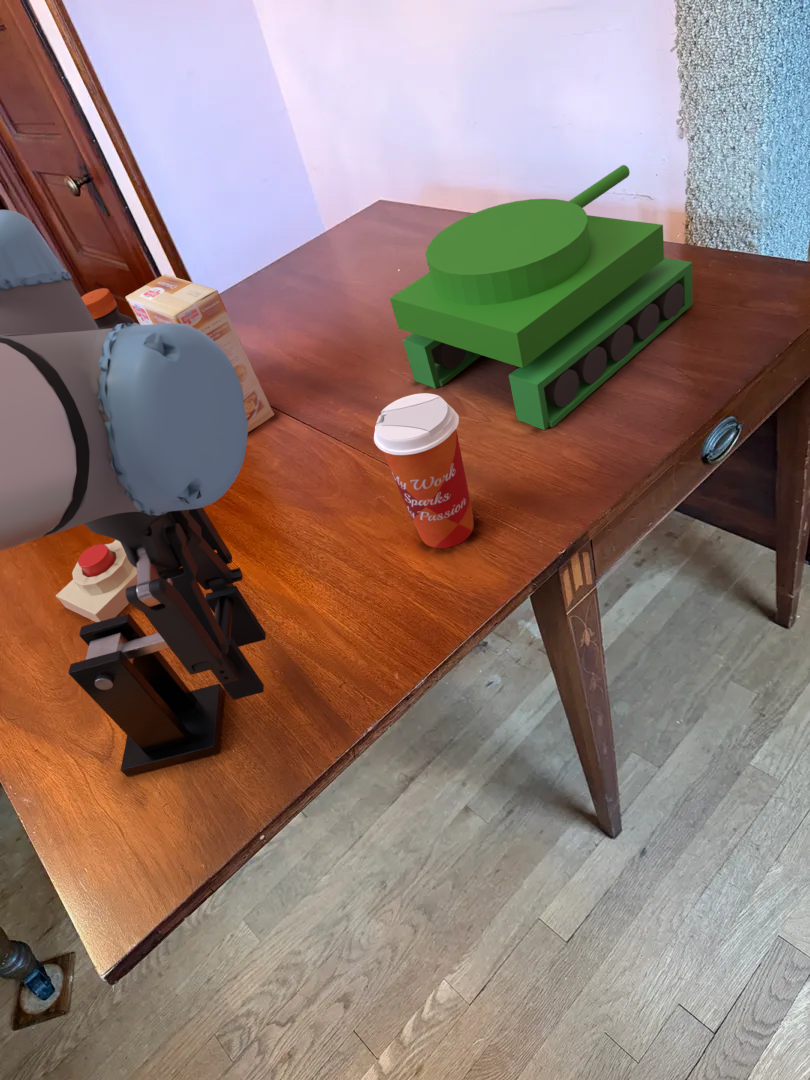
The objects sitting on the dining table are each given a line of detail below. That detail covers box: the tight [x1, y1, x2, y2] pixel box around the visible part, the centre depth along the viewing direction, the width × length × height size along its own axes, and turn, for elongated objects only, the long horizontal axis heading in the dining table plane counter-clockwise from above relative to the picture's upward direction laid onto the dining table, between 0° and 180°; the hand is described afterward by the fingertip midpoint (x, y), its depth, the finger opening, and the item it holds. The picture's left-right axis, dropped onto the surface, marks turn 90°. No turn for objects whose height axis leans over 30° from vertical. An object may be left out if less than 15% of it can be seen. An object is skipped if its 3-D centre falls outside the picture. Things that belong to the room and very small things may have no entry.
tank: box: [389, 164, 694, 431], centre depth 96 cm, size 24×35×16 cm
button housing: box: [55, 539, 137, 623], centre depth 87 cm, size 10×8×4 cm
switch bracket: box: [67, 613, 226, 778], centre depth 65 cm, size 9×7×14 cm
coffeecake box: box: [125, 274, 275, 433], centre depth 104 cm, size 15×7×20 cm, turn 42°
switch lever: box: [84, 596, 233, 664], centre depth 61 cm, size 12×5×2 cm, turn 96°
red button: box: [77, 543, 115, 577], centre depth 85 cm, size 4×4×2 cm
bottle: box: [81, 287, 136, 329], centre depth 109 cm, size 7×7×20 cm
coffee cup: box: [373, 392, 475, 549], centre depth 75 cm, size 8×8×15 cm
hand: (249, 665), depth 65 cm, fingers closed on switch lever, 5 cm apart
